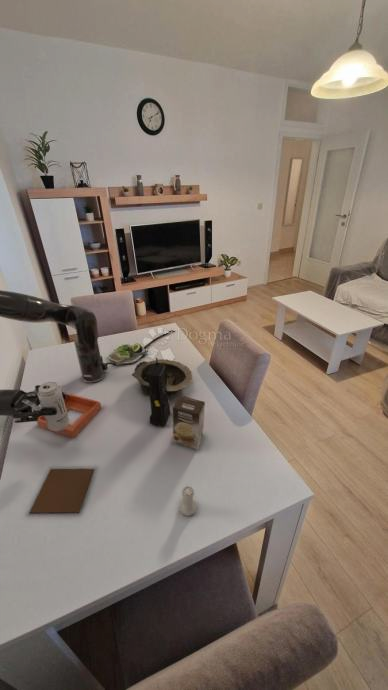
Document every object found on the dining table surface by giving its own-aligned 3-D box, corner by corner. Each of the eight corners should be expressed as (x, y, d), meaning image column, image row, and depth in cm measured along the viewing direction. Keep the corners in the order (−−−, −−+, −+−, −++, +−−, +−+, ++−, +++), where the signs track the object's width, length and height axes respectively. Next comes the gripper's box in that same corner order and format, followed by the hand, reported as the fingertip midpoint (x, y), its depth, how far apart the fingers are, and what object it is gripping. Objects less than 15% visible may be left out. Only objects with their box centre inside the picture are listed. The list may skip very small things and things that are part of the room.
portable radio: (164, 429, 99) (161, 372, 86) (148, 426, 100) (143, 369, 87) (170, 414, 105) (168, 358, 93) (155, 411, 106) (151, 356, 94)
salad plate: (131, 371, 130) (130, 362, 127) (100, 363, 135) (98, 354, 133) (151, 351, 145) (150, 344, 143) (122, 345, 151) (121, 337, 149)
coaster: (51, 469, 84) (50, 468, 84) (94, 469, 84) (93, 468, 84) (29, 513, 73) (29, 512, 73) (79, 513, 73) (78, 512, 73)
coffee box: (172, 443, 93) (171, 407, 86) (179, 429, 99) (178, 394, 91) (197, 450, 91) (199, 414, 83) (203, 436, 96) (205, 400, 88)
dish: (68, 399, 112) (66, 392, 110) (101, 408, 108) (100, 401, 106) (38, 426, 99) (35, 419, 97) (73, 438, 95) (71, 431, 93)
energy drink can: (64, 433, 83) (53, 394, 75) (44, 432, 83) (31, 393, 75) (73, 418, 88) (63, 380, 81) (54, 417, 88) (42, 380, 81)
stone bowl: (123, 396, 113) (121, 377, 109) (153, 368, 134) (152, 351, 131) (177, 412, 105) (177, 392, 101) (200, 380, 126) (201, 362, 122)
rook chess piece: (179, 500, 76) (178, 482, 72) (195, 499, 77) (195, 481, 73) (179, 517, 72) (179, 499, 68) (196, 516, 73) (197, 498, 69)
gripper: (-18, 409, 73) (47, 410, 73) (13, 377, 85) (68, 378, 85) (-8, 430, 76) (53, 431, 77) (20, 396, 89) (72, 397, 89)
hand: (61, 403), depth 81 cm, fingers closed on energy drink can, 6 cm apart
